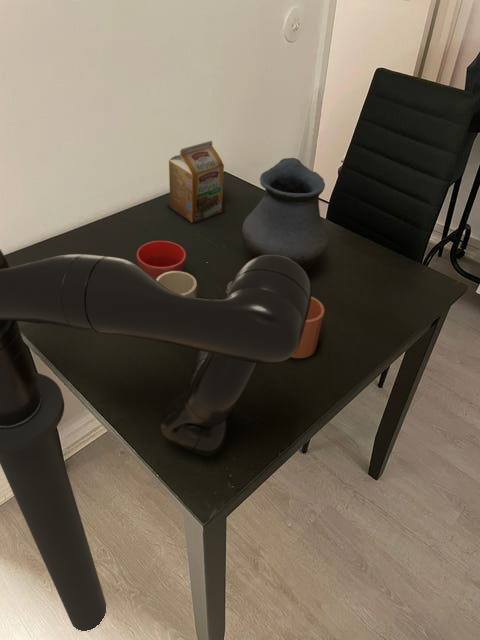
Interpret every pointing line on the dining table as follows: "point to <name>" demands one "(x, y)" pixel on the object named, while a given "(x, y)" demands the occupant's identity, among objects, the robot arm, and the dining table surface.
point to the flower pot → (161, 257)
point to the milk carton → (196, 182)
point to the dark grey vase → (288, 215)
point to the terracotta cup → (310, 330)
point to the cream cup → (179, 283)
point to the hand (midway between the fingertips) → (240, 299)
